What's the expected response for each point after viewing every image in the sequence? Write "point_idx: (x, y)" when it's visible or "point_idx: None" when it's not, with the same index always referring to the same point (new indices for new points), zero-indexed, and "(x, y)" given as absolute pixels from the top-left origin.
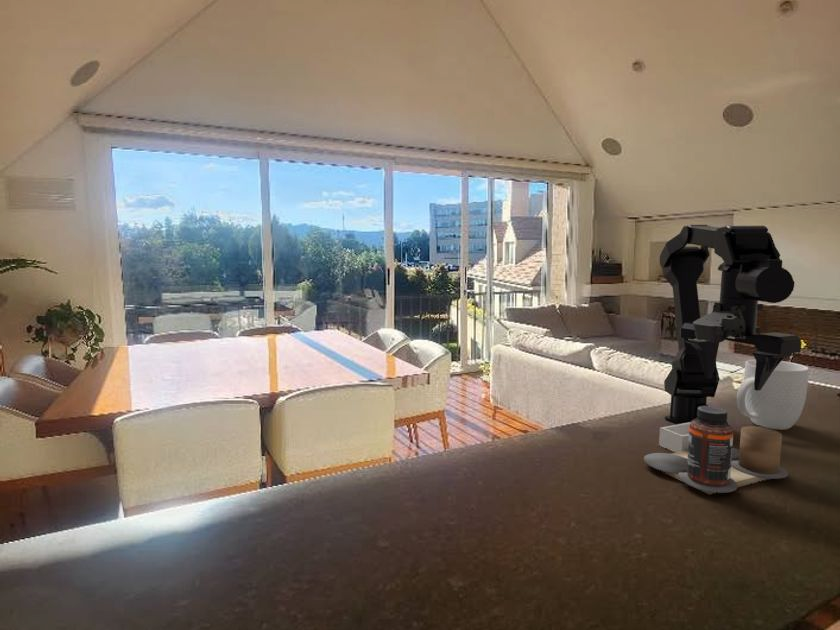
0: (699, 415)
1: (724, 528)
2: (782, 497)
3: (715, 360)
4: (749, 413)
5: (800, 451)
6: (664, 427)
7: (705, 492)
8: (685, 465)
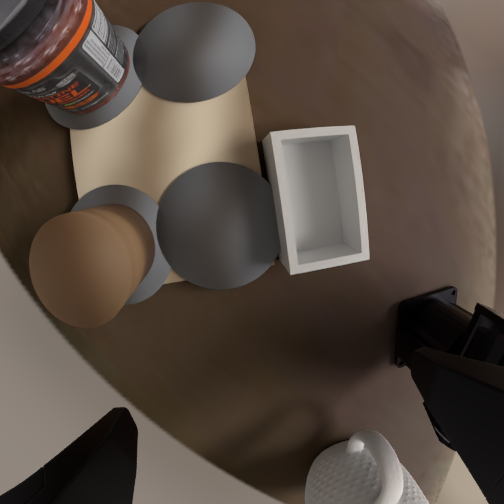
0: None
1: None
2: (32, 200)
3: (459, 452)
4: (354, 439)
5: (215, 423)
6: (352, 139)
7: None
8: (164, 69)
